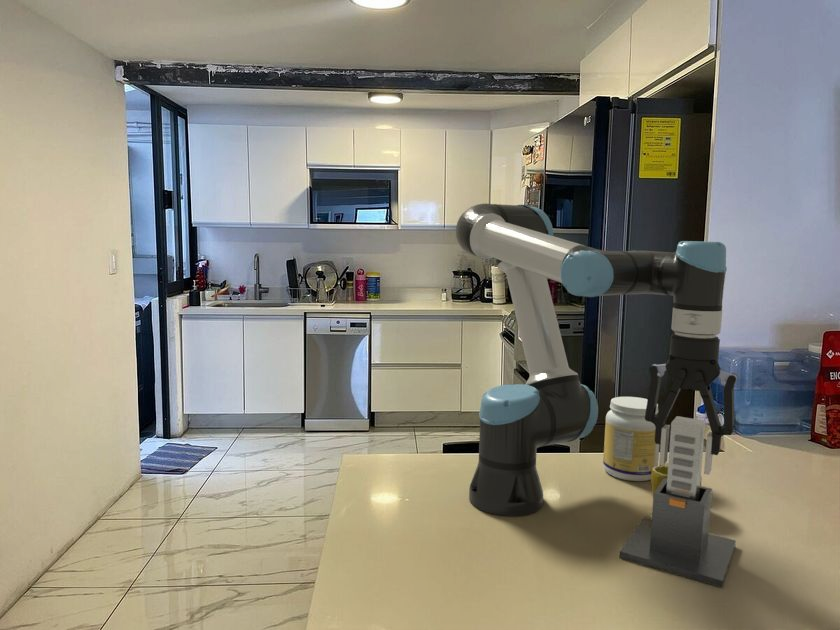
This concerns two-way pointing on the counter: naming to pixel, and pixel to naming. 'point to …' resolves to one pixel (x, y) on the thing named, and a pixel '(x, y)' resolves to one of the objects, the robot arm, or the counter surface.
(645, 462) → the supplement tub
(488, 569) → the counter surface
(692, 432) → the column
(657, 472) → the mug
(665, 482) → the stand
